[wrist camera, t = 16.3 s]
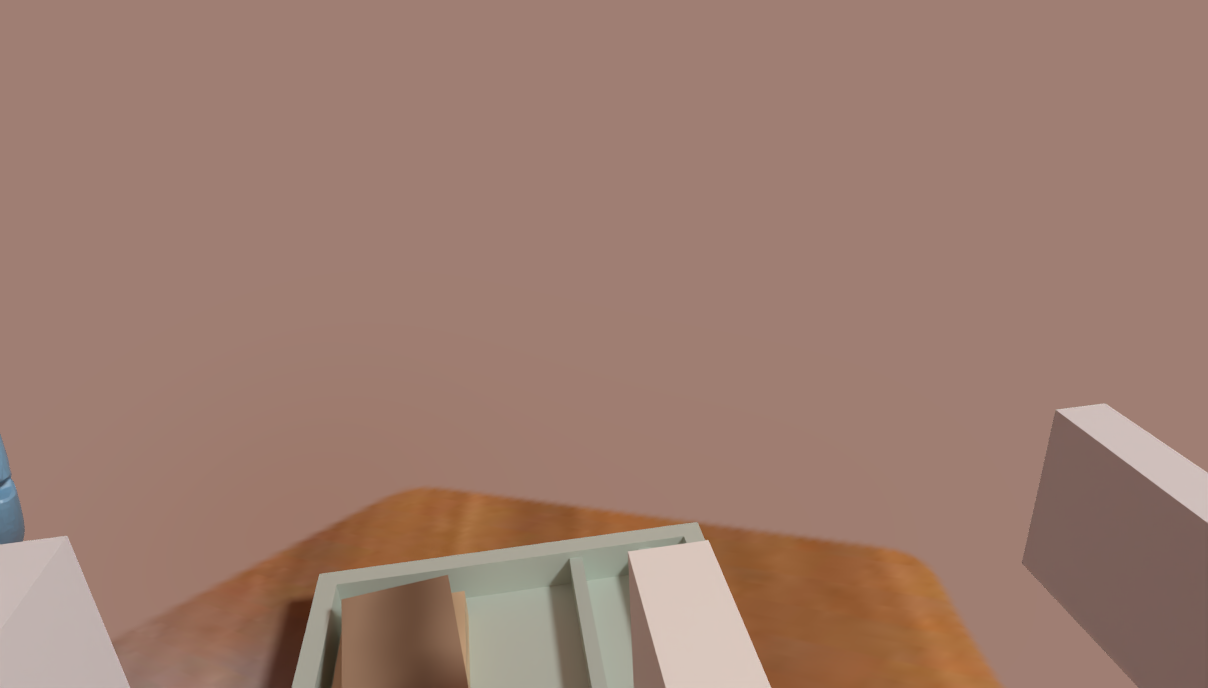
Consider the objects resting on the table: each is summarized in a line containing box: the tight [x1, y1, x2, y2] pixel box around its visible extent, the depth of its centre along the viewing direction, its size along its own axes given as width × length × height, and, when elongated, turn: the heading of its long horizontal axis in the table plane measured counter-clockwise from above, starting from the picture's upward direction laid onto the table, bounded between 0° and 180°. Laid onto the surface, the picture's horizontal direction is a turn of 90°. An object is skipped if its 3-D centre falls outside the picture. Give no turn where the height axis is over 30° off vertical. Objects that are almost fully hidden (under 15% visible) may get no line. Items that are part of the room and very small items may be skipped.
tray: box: [292, 522, 705, 688], centre depth 45 cm, size 24×16×4 cm, turn 99°
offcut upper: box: [341, 575, 469, 688], centre depth 43 cm, size 6×9×2 cm, turn 17°
